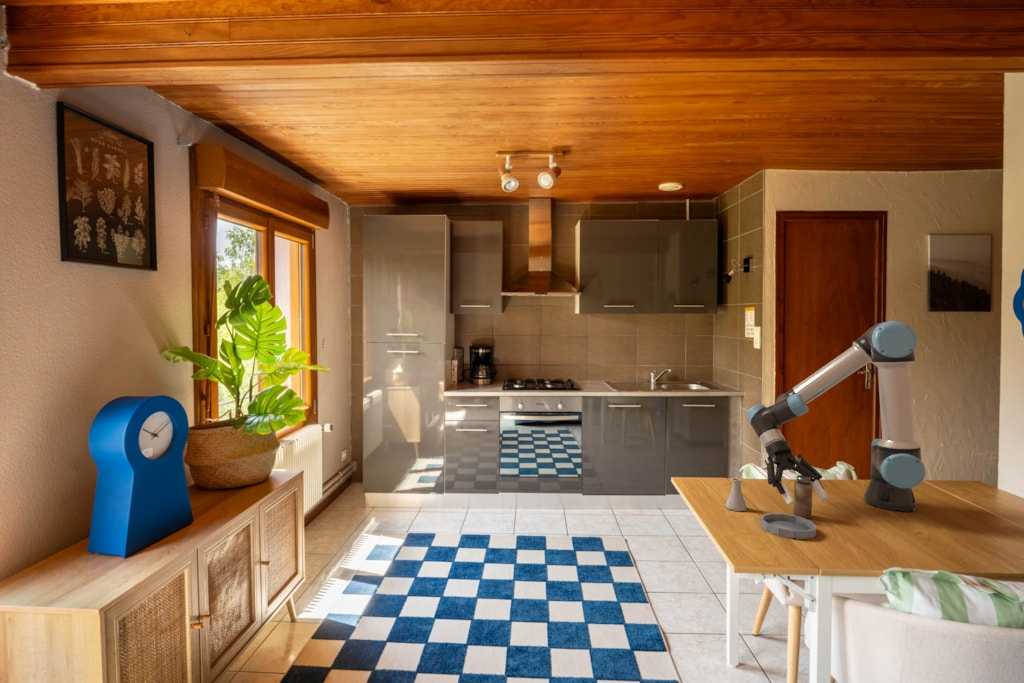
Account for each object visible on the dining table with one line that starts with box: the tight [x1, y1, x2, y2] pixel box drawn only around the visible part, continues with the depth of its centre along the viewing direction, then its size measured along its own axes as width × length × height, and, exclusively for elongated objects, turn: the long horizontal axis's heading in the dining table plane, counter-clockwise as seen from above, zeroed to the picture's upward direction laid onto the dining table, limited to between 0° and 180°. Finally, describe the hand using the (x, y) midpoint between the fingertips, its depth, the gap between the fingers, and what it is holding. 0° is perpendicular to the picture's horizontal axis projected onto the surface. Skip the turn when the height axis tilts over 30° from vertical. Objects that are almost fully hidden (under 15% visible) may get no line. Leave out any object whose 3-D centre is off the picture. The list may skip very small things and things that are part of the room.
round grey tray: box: [760, 512, 817, 540], centre depth 164 cm, size 15×15×2 cm
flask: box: [724, 477, 748, 512], centre depth 183 cm, size 7×7×10 cm
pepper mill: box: [792, 474, 814, 520], centre depth 176 cm, size 5×5×13 cm
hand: (808, 501), depth 174 cm, fingers open, 13 cm apart
